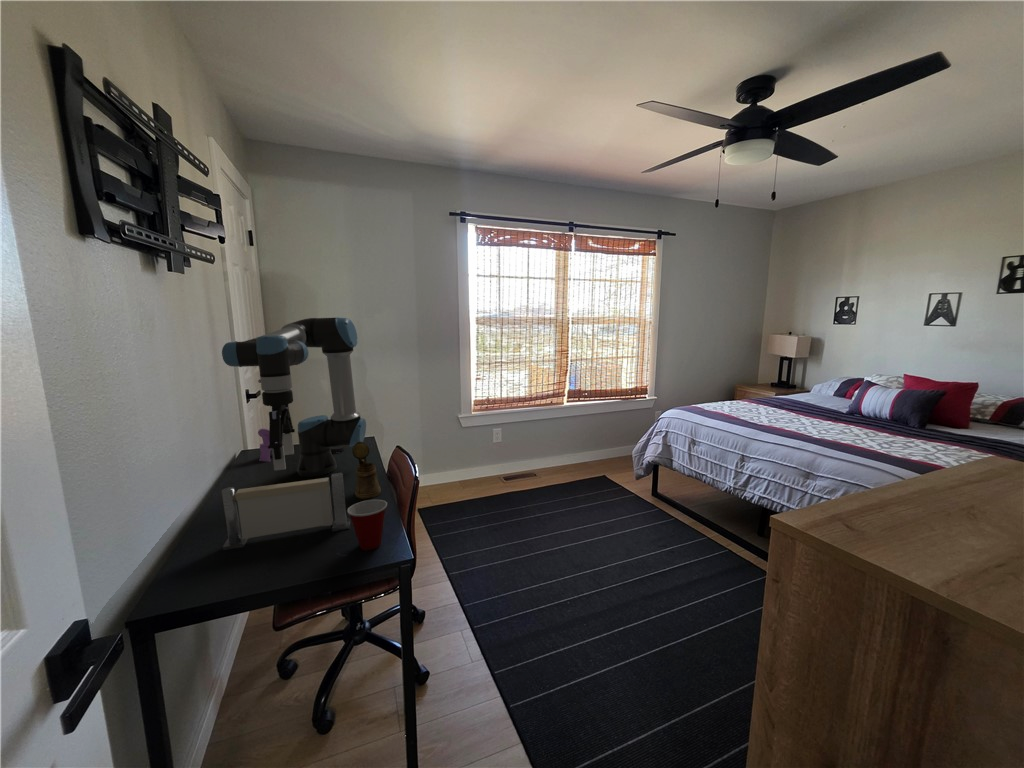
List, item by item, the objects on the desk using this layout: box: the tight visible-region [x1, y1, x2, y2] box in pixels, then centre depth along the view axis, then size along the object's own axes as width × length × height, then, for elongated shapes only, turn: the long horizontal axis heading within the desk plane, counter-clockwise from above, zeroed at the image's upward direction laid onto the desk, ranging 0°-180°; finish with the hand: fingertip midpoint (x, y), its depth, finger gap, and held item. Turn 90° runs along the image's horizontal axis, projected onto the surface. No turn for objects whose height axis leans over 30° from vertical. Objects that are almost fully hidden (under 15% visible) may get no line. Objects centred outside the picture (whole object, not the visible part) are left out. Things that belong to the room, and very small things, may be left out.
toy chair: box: [257, 428, 283, 463], centre depth 187 cm, size 8×9×15 cm
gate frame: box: [221, 472, 351, 551], centre depth 120 cm, size 5×34×17 cm, turn 110°
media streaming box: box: [330, 446, 345, 454], centre depth 199 cm, size 15×15×3 cm
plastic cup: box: [346, 499, 388, 551], centre depth 115 cm, size 11×11×12 cm
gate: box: [235, 477, 334, 539], centre depth 120 cm, size 3×24×14 cm, turn 110°
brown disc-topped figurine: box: [352, 441, 382, 500], centre depth 149 cm, size 9×14×18 cm, turn 33°
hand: (284, 461), depth 117 cm, fingers open, 13 cm apart
